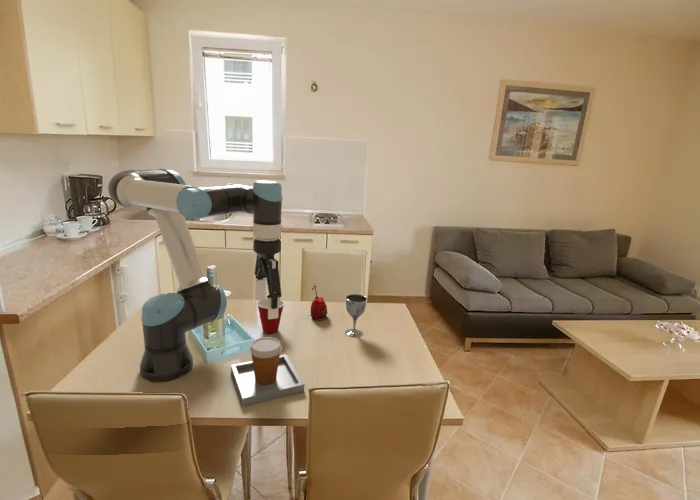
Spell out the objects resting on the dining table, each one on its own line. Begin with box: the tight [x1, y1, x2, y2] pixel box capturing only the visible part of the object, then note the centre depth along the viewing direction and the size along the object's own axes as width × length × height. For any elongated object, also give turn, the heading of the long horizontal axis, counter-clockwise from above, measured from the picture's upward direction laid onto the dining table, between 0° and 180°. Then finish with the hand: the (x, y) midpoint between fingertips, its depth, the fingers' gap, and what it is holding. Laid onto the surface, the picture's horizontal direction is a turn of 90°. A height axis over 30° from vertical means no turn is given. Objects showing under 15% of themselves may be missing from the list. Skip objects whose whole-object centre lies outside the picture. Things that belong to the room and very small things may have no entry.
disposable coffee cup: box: [249, 336, 283, 385], centre depth 116 cm, size 10×10×12 cm
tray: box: [230, 353, 305, 407], centre depth 118 cm, size 18×18×2 cm
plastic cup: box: [256, 298, 286, 335], centre depth 148 cm, size 11×11×12 cm
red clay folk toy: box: [310, 283, 328, 321], centre depth 162 cm, size 8×7×15 cm
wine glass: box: [344, 293, 368, 338], centre depth 150 cm, size 8×8×15 cm
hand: (266, 308), depth 112 cm, fingers open, 13 cm apart
